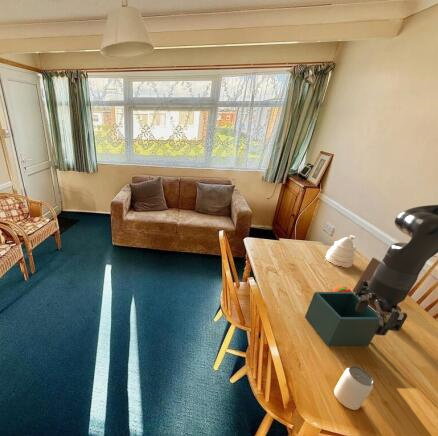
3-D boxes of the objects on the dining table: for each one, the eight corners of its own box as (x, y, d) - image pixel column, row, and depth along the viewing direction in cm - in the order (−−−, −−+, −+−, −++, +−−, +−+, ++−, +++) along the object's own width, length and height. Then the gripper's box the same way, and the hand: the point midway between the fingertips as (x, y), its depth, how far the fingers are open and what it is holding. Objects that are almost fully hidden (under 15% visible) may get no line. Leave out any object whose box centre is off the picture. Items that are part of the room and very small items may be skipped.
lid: (410, 281, 75) (412, 282, 75) (372, 257, 88) (374, 257, 88) (384, 318, 82) (386, 318, 82) (352, 291, 95) (354, 291, 95)
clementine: (338, 305, 108) (344, 293, 105) (326, 294, 114) (330, 283, 111) (353, 303, 109) (359, 291, 106) (339, 292, 115) (345, 281, 112)
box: (327, 346, 88) (340, 319, 82) (304, 316, 101) (314, 291, 95) (368, 346, 88) (384, 319, 82) (340, 317, 101) (352, 291, 95)
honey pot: (344, 257, 144) (355, 232, 136) (356, 269, 132) (368, 242, 125) (321, 254, 146) (330, 229, 139) (331, 266, 135) (342, 240, 128)
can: (364, 412, 69) (381, 389, 64) (340, 408, 70) (355, 384, 65) (351, 389, 75) (365, 366, 70) (329, 385, 76) (342, 362, 71)
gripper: (433, 300, 55) (401, 345, 62) (388, 265, 68) (366, 306, 75) (397, 296, 56) (369, 340, 63) (360, 262, 69) (340, 302, 76)
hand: (368, 321), depth 69 cm, fingers open, 8 cm apart
